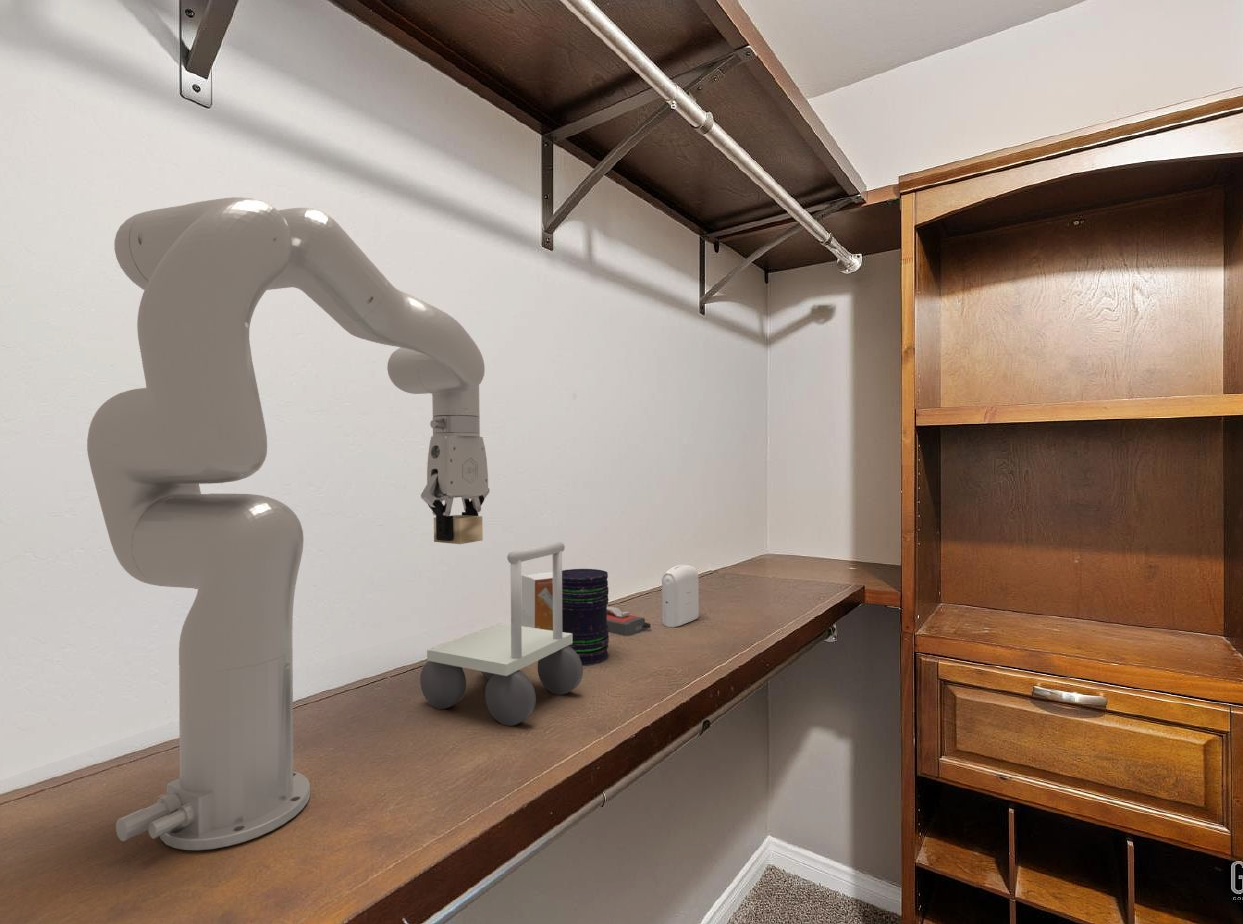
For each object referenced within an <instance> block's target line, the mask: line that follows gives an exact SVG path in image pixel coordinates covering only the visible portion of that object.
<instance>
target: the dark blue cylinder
mask: <svg viewBox="0 0 1243 924" xmlns="http://www.w3.org/2000/svg"><path fill="white" fill-rule="evenodd" d="M608 578H609V573H608V571H605V570H603V569H602V570H601V569H597V568H573V569H572V568H570V569H562V632H565V633H572V639H573V643H572V644H570V645H568V646H569V647H571V648H572V649H573V650H574V651H575V652H576V653H577V654H578V656H579V658H580V660H581V662H582V667H584V666H585V667H586V666H593V665H597V664H601V663H603V662H605V661H606V660H608V659H609V652H608V649H609V643H610V636H609V633H610V632H609V629H608V625H607V606H608V604H609V581H608Z"/></svg>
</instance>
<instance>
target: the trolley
mask: <svg viewBox="0 0 1243 924" xmlns="http://www.w3.org/2000/svg"><path fill="white" fill-rule="evenodd" d="M565 549H566V548H565V544H564V543H563V542H562V541H556V542H552V543H547V544H543V545H537V546H533V547H527V548H523V549H517V550H513V551H509V553H508V554H507V557H506V558H507V561H508V562H509V564H510V624H509V623H501V622H499V623H497V624H494V625H491V626H488V627H485V628H482V629H480V630H478V631H474V632H472V633H470V634H467V635H464V636H461V637H458V638H455V639H453V640H450V641H447V642H445V643H443V644H440V645H436V646H434V647H431V648H429V649H427V650H426V661H427V662H425V664H424V665H423V667H422V669H421V670H420V671H421V672H420V682H419V683H420V689H421V692H422V694H423V696H424V699H425V700H426V702H427V703H428V704H430V705H431V706H432V707H433V708H435V709H439V710H446V709H448V708H450V707H452V706H455V705H456V704H458V703H459V702H460V701H462V699H463V698H464V695H466V694H465V692H466V689H467V679H466V675H465V671H464V669H469V670H473V671H480V672H481V674H482V676H483V677H485V679H487V680H488V681H487V683H486V686H485V690H484V691H485V693H484V694H485V697H484V698H485V702H486V705H487V709H488V711H489V713H490V714H491V716H492V717H493V718H494V719H495V720H496V721H497V722H498V723H500V724H502V725H505V726H509V727H510V726H512V727H513V726H516V725H518V724H520V723H521V722H523V721H525V720H526V719H528V718H529V717H530V716H531V715H532V713H533V712H534V710H535V707H536V701H537V699H536V691H535V687H534V685H533V682H532V681H531V679H530V678H529V677H528V675H527V674H526V673H525V672H523V671H522V669H523V668H526V667H528V666H530V665H531V664H534V663H536V662H537V666H536V668H537V675H538V678H539V680H540V682H541V684H542V685H543V687H544V688H545V689H546V690H547V691H548V692H550V693H552V694H554V695H560V696H561V695H566V694H568V693H571V691H572V690H575V689H576V688H577V687H578V686H579V685H580V683H581V681H582V679H583V674H584V672H583V671H584V668H583V667H584V666H582V662H581V660H580V658H579V656H578V654H577V653H576V652H575V651H574V650H573V649H572V648H571V647H569V646H568V645H570V644H572V643H573V639H572V633H565V632H562V570H563V552H564V551H565ZM551 555H552V572H553V631H551V630H544V629H537V628H530V627H524V626H521V576H522V562H526V561H530V560H531V561H532V560H535V559H539V558H543V557H546V556H551ZM463 668H464V669H463Z"/></svg>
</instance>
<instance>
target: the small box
mask: <svg viewBox="0 0 1243 924" xmlns="http://www.w3.org/2000/svg"><path fill="white" fill-rule="evenodd" d="M521 626H524V627H530V628H537V629H544V630H551V631H553V571H548V572H538V573H532V574H530V573H529V574H521Z"/></svg>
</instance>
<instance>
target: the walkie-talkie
mask: <svg viewBox="0 0 1243 924" xmlns="http://www.w3.org/2000/svg"><path fill="white" fill-rule="evenodd" d="M607 625H608V629H609V632H608V633H611V634H614V635H615V634H616V635H618V636H624V637H630V636H633V635H637V634H639V633H641V631H642V632H644V630H645V631H646V629H650V628H651V623H650V622H646V619H645V617H640V616H637V615H630V611H624V612H623V611H621V610H620V608H619V607H613V606H608V605H607Z"/></svg>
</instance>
